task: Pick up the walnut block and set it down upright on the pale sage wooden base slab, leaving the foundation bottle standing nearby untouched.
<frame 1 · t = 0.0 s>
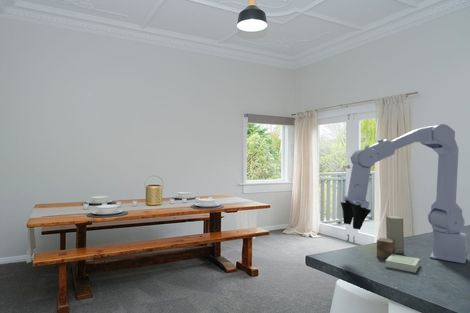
hand: (351, 226, 106), 11 cm above the kitchen island, tool pointing down, fingers open, 7 cm apart
walnut block: (385, 256, 108), on the kitchen island
base slab: (402, 266, 99), on the kitchen island
skincare box: (394, 251, 115), on the kitchen island
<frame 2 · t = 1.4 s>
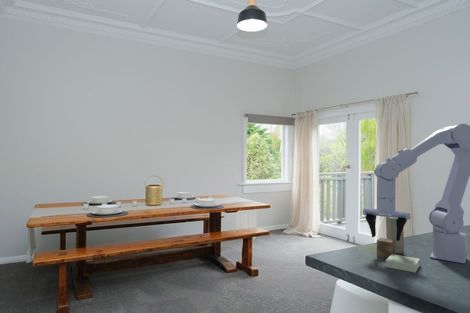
hand: (385, 238, 108), 6 cm above the kitchen island, tool pointing down, fingers open, 7 cm apart
nothing on the kitchen island moved.
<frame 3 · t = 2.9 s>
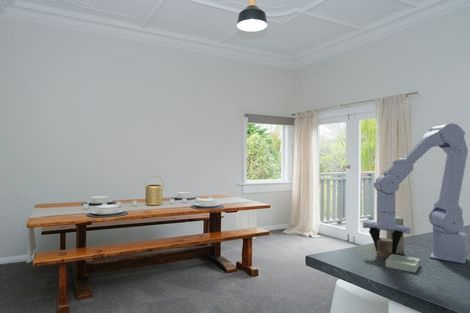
hand: (385, 251, 108), 1 cm above the kitchen island, tool pointing down, fingers closed on walnut block, 5 cm apart
walnut block: (385, 256, 108), on the kitchen island, touching gripper
everything else where it was.
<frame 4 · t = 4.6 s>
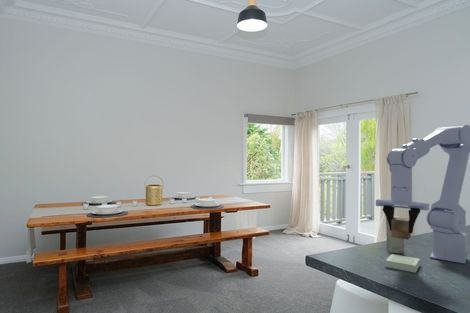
hand: (401, 231, 99), 10 cm above the kitchen island, tool pointing down, fingers closed on walnut block, 5 cm apart
walnut block: (401, 236, 99), point 9 cm above the kitchen island, touching gripper
everything else where it was.
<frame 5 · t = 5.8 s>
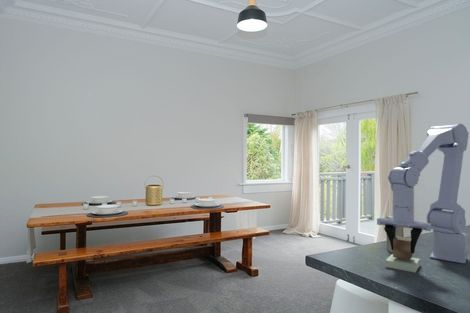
hand: (402, 251, 99), 5 cm above the kitchen island, tool pointing down, fingers closed on walnut block, 5 cm apart
walnut block: (402, 256, 99), point 3 cm above the kitchen island, touching gripper
everything else where it was.
when the fingers open (4 cm above the kitchen island, at t = 6.7 s): walnut block stays where it is, resting on base slab.
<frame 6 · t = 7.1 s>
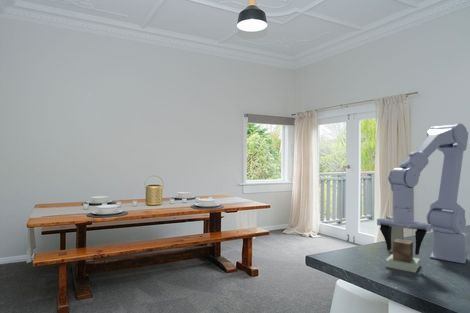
hand: (402, 251, 99), 4 cm above the kitchen island, tool pointing down, fingers open, 7 cm apart
walnut block: (403, 259, 99), point 2 cm above the kitchen island, touching base slab
everything else where it was.
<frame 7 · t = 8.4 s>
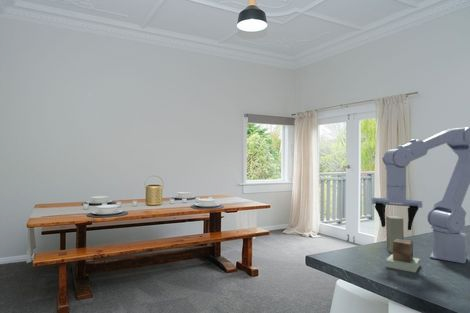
hand: (396, 227, 105), 10 cm above the kitchen island, tool pointing down, fingers open, 7 cm apart
nothing on the kitchen island moved.
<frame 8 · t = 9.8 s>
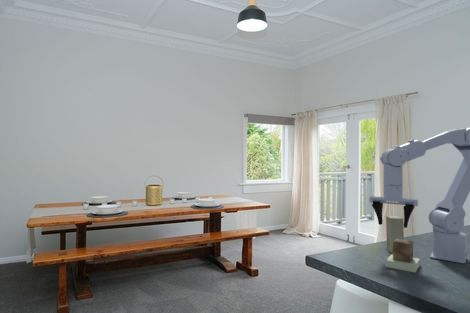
hand: (392, 225, 108), 10 cm above the kitchen island, tool pointing down, fingers open, 7 cm apart
nothing on the kitchen island moved.
at the end: walnut block 0.0 cm off-centre on the base slab, point 2.0 cm above the base slab's base; walnut block tilted 0°; the gripper is holding nothing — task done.
